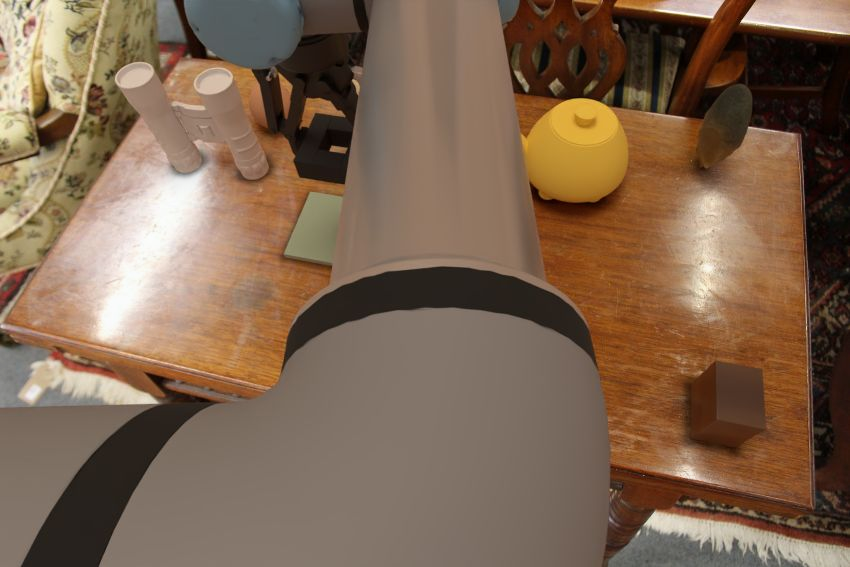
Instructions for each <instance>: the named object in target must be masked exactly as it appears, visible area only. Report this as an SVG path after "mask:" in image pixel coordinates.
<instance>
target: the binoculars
mask: <svg viewBox="0 0 850 567" xmlns="http://www.w3.org/2000/svg"><path fill="white" fill-rule="evenodd" d="M114 82H115V84H116V86H117V87H118V88H119V90H120V91H121V93H122V94H123V96H124V98H125V99H126V100H127V102H128V103H129V104H130V106H131V107H132V108H133V109H134V110H135V112H137V113H138V115H140V117H141V118H142V119H143V121H144V123H145V124H146V125H147V127H148V130H149V132H150V133H152V134H153V136H154V137H155V140H156V142H157V143H158V144H159V146H160V147H161V149H162V150H163V152H164V154H165V155H166V158H167V160H168V162H169V163H170V164H171V165H172V166H173V167H174V169H175V170H176V171H177V172H178V173H180V174H189V173H190V174H191V173H193V172H195V171H197V170H198V169H199V168H200V167H201V165H202V164H203V157H202V155H201V153H200V150H199V148H198V146H197V144H195V142H197V141H198V140H200V141H202V142H204V143H209V144H224V143H225V144H226V146H227V147H228V150H229V151H230V152H231V153H230V154H231V156H232V158H233V160H234V164H235V167H236V168H237V170H238V171H239V172H240V174H241V175H242V177H243V178H244V179H246V180H250V181H253V180H255V181H256V180H259V179H261V178H263V177H265V176H266V175H267V173H268V171H269V169H270V166H269V163H268V160H267V156H266V153H265V151H264V150H263V149H262V146H261V144H260V143H259V140H258V137H257V134H256V133H255V131H254V130H253V126H252V123H251V122H250V120H249V117H248V116H247V113H246V110H245V105H244V102H243V98H242V94H241V92H240V89H239V86H238V84H237V82H236V80H235V78H234V75H233V73H232V71H231V70H229V69H228V68H225V67H220V66H219V67H211V68H208V69H204V70H203V71H201V72H200V73H199V74H198V75H196V77H195V78H194V81H193V88H194V90H195V91H196V93H197V95H198V97H199V99H200V101H201V103H202V105H198V104H197V105H196V104H188V103H184V102H179V100H174V101H172V102H171V101H170V99H169V97H168V94H167V92H166V89H165V86H164V85H163V83H162V81H161V80H160V78H159V76H158V74H157V72H156V71H155V68H154V66H153V65H152V64H150V63H148V62H144V61H136V62H135V61H134V62H131V63H128V64H126V65H124V66H122V67H121V68H119V70H118V71H117V73H116V74H115V76H114Z"/></svg>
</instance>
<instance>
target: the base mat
mask: <svg viewBox="0 0 850 567" xmlns="http://www.w3.org/2000/svg"><path fill="white" fill-rule="evenodd" d="M342 201H343V195H342V196H341V195H336V194H329V193H323V192H316V191H309V193H308V196H307V198H306V200H305V202H304V205H303V207H302V210H301V212H300V214H299V217H298V219H297V221H296V224H295V226H294V229H293V231H292V233H291V235H290V238H289V240H288V242H287V245H286V247H285V250H284V252H283V256H284V258H286V259H290V260H296V261H302V262H307V263H312V264H317V265H323V266H328V267H329V266H330V267H332V266H333V259H334V253H335V246H336V240H337V233H338V227H339V220H340V214H341V207H342Z"/></svg>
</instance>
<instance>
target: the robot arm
mask: <svg viewBox="0 0 850 567" xmlns="http://www.w3.org/2000/svg"><path fill="white" fill-rule="evenodd" d="M520 1H521V0H183V8H184V13H185V16H186V19H187V23H188V25H189V27H190V28H191V30H192V31H193V33H194V36H196V38H197V39H198V41H199V42H201V44H202V45H203V46H204V47H205V48H206V49H207V50H208V51H210V53H212V54H213V55H215V57H217V58H219V59H220V60H223V61H225V62H226V63H228V64H230V65H233V66H236V67H239V68H243V69H249V70H251V72H252V75H253V76H254V78H255V79H256V81H257V83H259V85H260V90H261V95H262V100H263V105H264V110H265V116H266V121H267V126H268V128H267V131H268V132H269V133H270V134H272V135H274V136H276V135H278V134H281V135H283V137H284V138H285V140H287V141H288V144H289V146H290V149H291V152H292V154H293V155H294V157H295V156H296V154H297V151H298V149H299V147H300V145H301V143H302V141H303V139H304V136H305V134H306V132H307V130H308V128H309V126H301V124H302V122H303V116H304V112H305V107H306V103H307V99H312V100H315V99H320V100H324V101H327V102H330V103H331V104H332V106H333V107H334V109H335V110H336V111H337V112H339V111H341V112H342V114H343V115H344V117H346V118H347V119H348V121H349V122H350V123H351V125H352V126H353V128H354V129H353V135H352V142H351V148H350V155H349V161H348V168H347V174H346V181H345V185H344V189H343V195H342V197H343V201H342V207H341V214H340V220H339V227H338V233H337V240H336V246H335V253H334V259H333V266H331V274H330V280H329V284H328V285H326V286H324V287H323V288H322V289H320V290H319V291H317V292H316V293H315V294H314V295H313V296H311V297H310V298H309V299H307V301H306V302H305V303H304V304H303V305H302V306H301V308H300V309H299V310H298V311H297V313H296V314H295V316H294V318H293V320H292V322H291V323H290V328H289V331H288V332H287V337H286V342H285V349H284V354H283V359H282V364H281V365H282V366H281V369H280V375H279V377H278V381H277V382H276V383H275V384H274V385H273V386H271V387H269V388H268V389H267V390H265V391H264V392H262V393H261V394H260V395H258V396H256V397H253V398H250V399H246V400H244V401H211V402H210V401H209V402H204V401H203V402H161V403H131V404H130V403H129V404H127V403H126V404H93V405H91V404H88V405H86V404H85V405H52V406H51V405H50V406H49V405H48V406H47V405H46V406H13V407H12V406H9V407H0V567H603V561H604V557H605V552H606V547H607V539H608V538H607V537H608V528H609V517H610V502H611V500H610V499H611V498H610V497H611V453H612V449H611V440H610V439H611V438H610V430H609V429H610V428H609V419H608V411H607V405H606V404H607V403H606V398H605V394H604V390H603V385H602V378H601V375H600V370H599V367H598V362H597V358H596V354H595V349H594V344H593V340H592V336H591V330H590V326H589V325H588V322H587V320H586V317H585V315H584V314H583V313H582V311H581V310H580V308H579V307H578V306H577V304H576V302H574V301H573V300H572V299H570V298H569V296H568V295H566V293H564V292H563V291H561V290H560V289H558V288H557V287H555V286H554V285H552V284H551V283H549V282H548V280H547V275H546V270H545V264H544V263H545V262H544V257H543V253H542V252H543V251H542V246H541V240H540V236H539V229H538V223H537V219H536V212H535V207H534V202H533V195H532V191H531V190H532V189H531V185H530V184H531V182H530V181H529V178H528V172H527V166H526V161H525V155H524V149H523V143H522V138H521V134H522V132H521V128H520V122H519V116H518V110H517V105H516V104H517V103H516V98H515V93H514V92H515V91H514V87H513V82H512V76H511V70H510V64H509V58H508V52H507V47H506V40H505V35H504V30H503V25H506V23H508V22H510V21H511V20H513V19H514V18H515V16H516V15H517V12H518V10H519V6H520ZM365 32H366V33H367V38H366V45H365V49H364V50H365V52H364V58H363V64H362V66H358V65H357V63H356V61H355V60H354V59H353V58H352V56H351V53H350V49H349V48H350V47H349V40H348V34H349V33H350V34H351V33H365ZM347 33H348V34H347ZM279 74H280V75H281V77H283V78H284V79H285V80H286V81H287V82H288V83H289V84H290V85H291V86H292V88H291V92H290V94H291V97H290V101H291V102H290V107H289V112H288V117H287V119H285V113H284V106H283V100H282V93H281V86H280V84H281V81H280V75H279ZM354 80H355V81H356V82H357V83H358V86H359V89H358V90H359V91H358V93H357V86H356V85H355V83H354V82H353V81H354Z"/></svg>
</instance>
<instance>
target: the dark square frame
mask: <svg viewBox="0 0 850 567" xmlns="http://www.w3.org/2000/svg"><path fill="white" fill-rule="evenodd" d="M353 129H354V128H353V126H352V125H351V123H350V122H349V121H348V119H347V118H346V117H345V116H341V115H334V114H327V113H321V112H320V113H319V112H315V113H314V115H313V117H312V118H311V121H310V123H309V125H308V130H307V132H306V134H305V136H304V139H303V141H302V143H301V145H300V147H299V149H298V151H297V154H296V156H295V155H294V157H293V160H292V161H293V165H294V167H295V170H296V173H297V175H298V177H299V178H300V179H304V180H312V181H317V182H323V183H329V184H330V183H331V184H337V185H343V186H345V181H346V174H347V168H348V161H349V155H350V148H351V142H352V135H353ZM332 147H338V148H344V149H346V151H345V153H344V152H338V151H332V150H331V148H332Z"/></svg>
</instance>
